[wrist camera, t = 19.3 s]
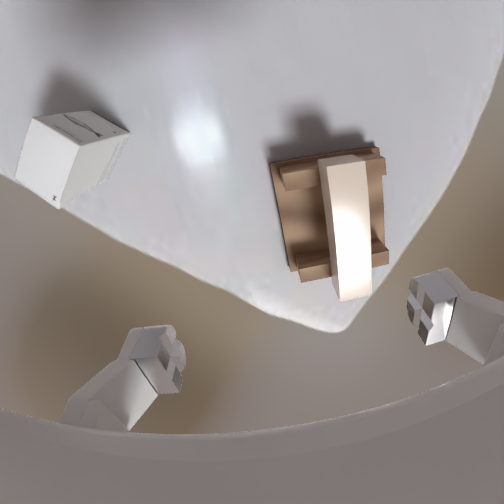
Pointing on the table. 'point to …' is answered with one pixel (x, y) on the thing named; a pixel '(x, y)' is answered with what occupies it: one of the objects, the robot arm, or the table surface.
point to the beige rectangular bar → (347, 224)
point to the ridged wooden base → (322, 211)
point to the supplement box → (68, 155)
